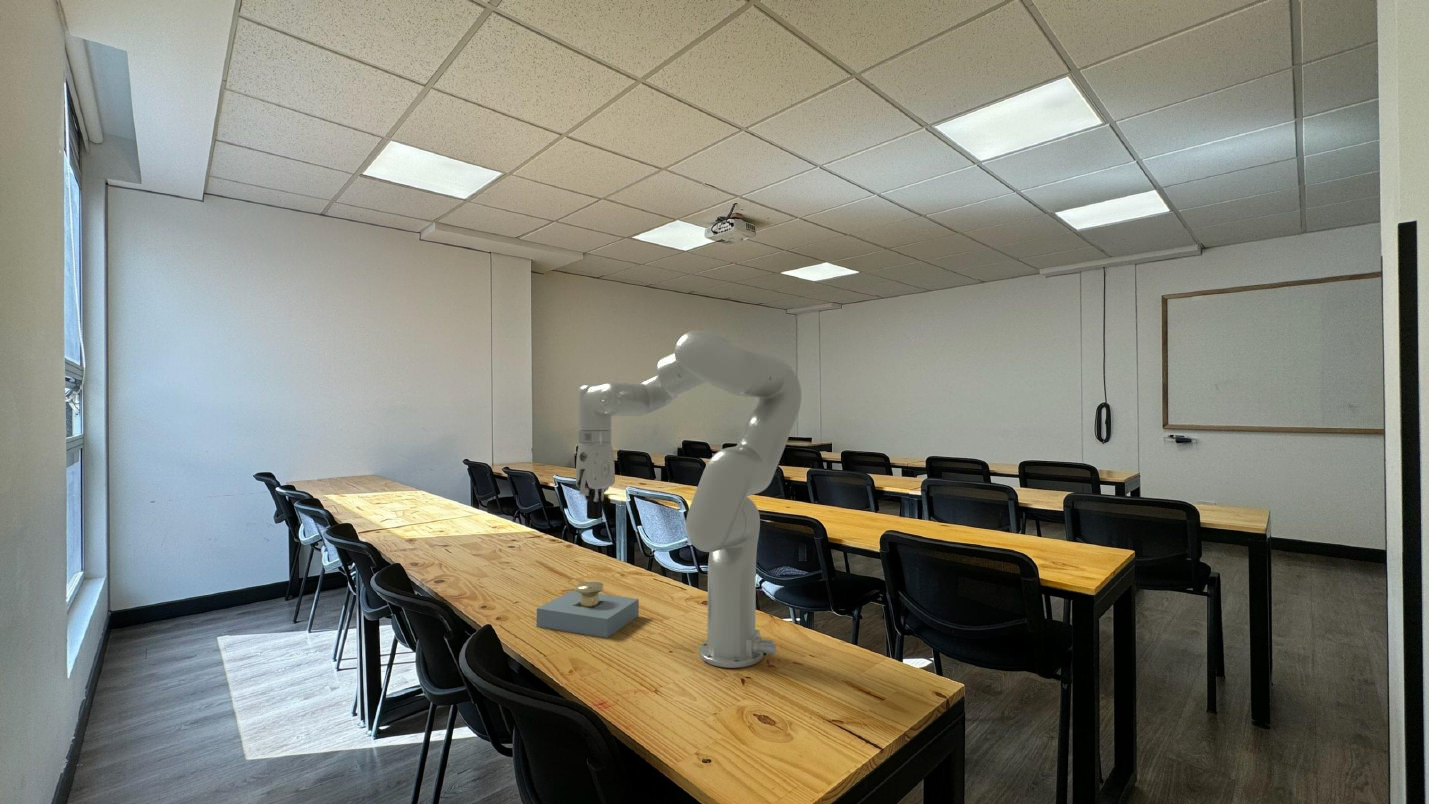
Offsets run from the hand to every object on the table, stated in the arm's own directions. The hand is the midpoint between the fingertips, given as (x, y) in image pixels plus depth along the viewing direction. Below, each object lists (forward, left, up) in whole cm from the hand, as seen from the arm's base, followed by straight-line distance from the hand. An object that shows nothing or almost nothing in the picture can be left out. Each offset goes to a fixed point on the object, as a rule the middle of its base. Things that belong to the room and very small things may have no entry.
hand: (594, 518), depth 132 cm
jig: (+1, +1, -23) cm, 23 cm away
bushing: (+1, 0, -23) cm, 23 cm away
